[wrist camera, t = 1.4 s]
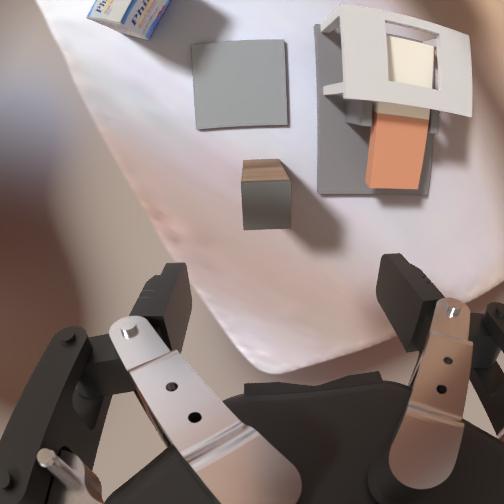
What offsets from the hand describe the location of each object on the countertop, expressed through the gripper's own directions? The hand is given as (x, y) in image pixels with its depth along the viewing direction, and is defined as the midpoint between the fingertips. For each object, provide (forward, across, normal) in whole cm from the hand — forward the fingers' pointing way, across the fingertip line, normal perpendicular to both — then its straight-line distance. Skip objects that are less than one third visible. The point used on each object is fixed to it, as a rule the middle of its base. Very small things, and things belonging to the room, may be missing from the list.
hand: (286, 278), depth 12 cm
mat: (+24, +2, -10) cm, 26 cm away
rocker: (+18, -14, -7) cm, 24 cm away
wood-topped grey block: (+25, 0, +1) cm, 25 cm away
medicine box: (+24, +12, -21) cm, 34 cm away
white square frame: (+24, -14, -7) cm, 29 cm away
